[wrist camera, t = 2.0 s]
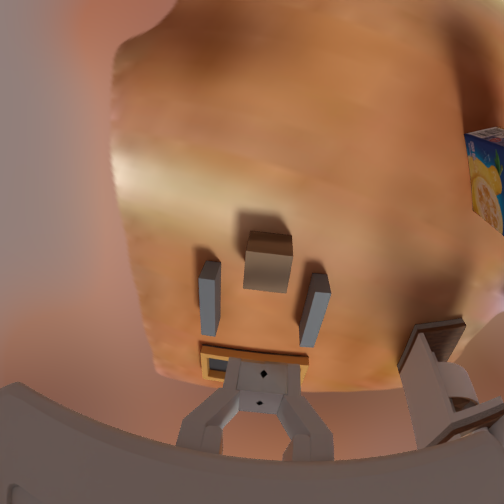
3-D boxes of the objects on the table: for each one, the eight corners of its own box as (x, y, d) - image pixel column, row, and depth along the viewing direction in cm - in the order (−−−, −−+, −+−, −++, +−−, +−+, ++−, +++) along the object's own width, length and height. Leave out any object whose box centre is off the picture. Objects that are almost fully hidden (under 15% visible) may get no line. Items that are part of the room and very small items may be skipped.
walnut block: (250, 230, 34) (245, 250, 30) (291, 235, 34) (293, 256, 29) (247, 265, 36) (243, 288, 32) (286, 269, 36) (286, 293, 32)
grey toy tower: (440, 358, 44) (482, 509, 13) (397, 366, 45) (427, 534, 15) (461, 318, 38) (527, 487, 8) (415, 324, 39) (469, 524, 9)
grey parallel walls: (206, 260, 37) (198, 278, 33) (327, 274, 36) (331, 293, 32) (207, 315, 42) (201, 334, 38) (311, 327, 41) (313, 347, 37)
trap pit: (202, 344, 45) (200, 352, 43) (308, 356, 44) (308, 365, 43) (205, 370, 49) (202, 378, 48) (299, 381, 48) (299, 389, 47)
